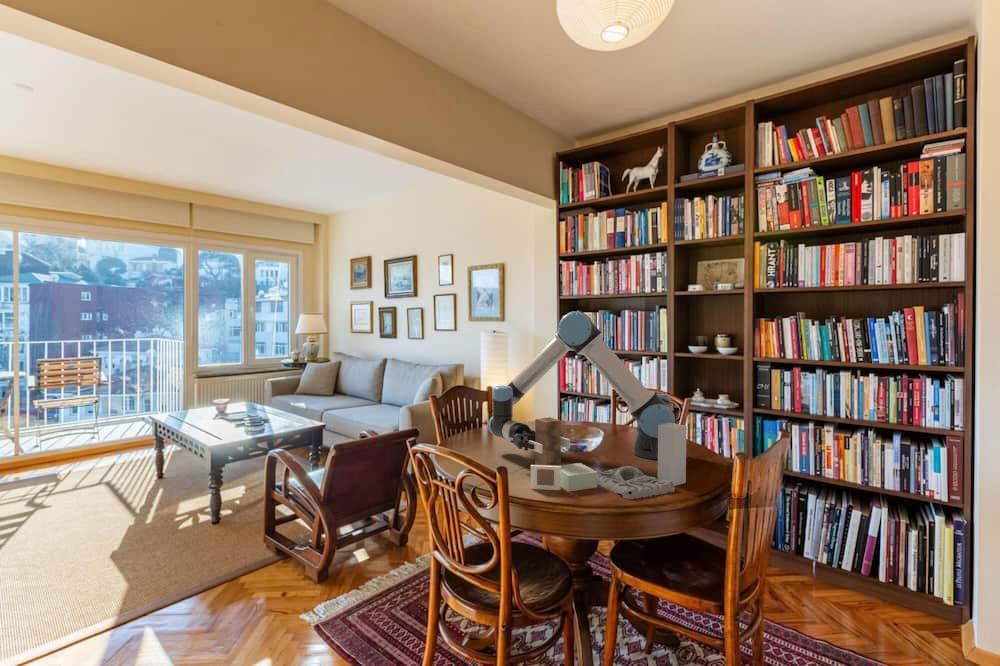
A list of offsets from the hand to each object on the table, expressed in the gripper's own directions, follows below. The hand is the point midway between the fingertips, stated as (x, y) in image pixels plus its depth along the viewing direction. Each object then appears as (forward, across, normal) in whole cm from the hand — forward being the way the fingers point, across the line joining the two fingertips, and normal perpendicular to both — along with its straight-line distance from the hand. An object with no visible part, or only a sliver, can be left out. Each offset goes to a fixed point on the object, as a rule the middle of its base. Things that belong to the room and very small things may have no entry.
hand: (555, 446), depth 158 cm
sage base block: (+8, -1, -10) cm, 13 cm away
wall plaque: (+17, -16, -11) cm, 26 cm away
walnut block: (-4, 0, -10) cm, 11 cm away
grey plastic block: (+23, -28, -10) cm, 38 cm away
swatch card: (+7, +10, -10) cm, 15 cm away
